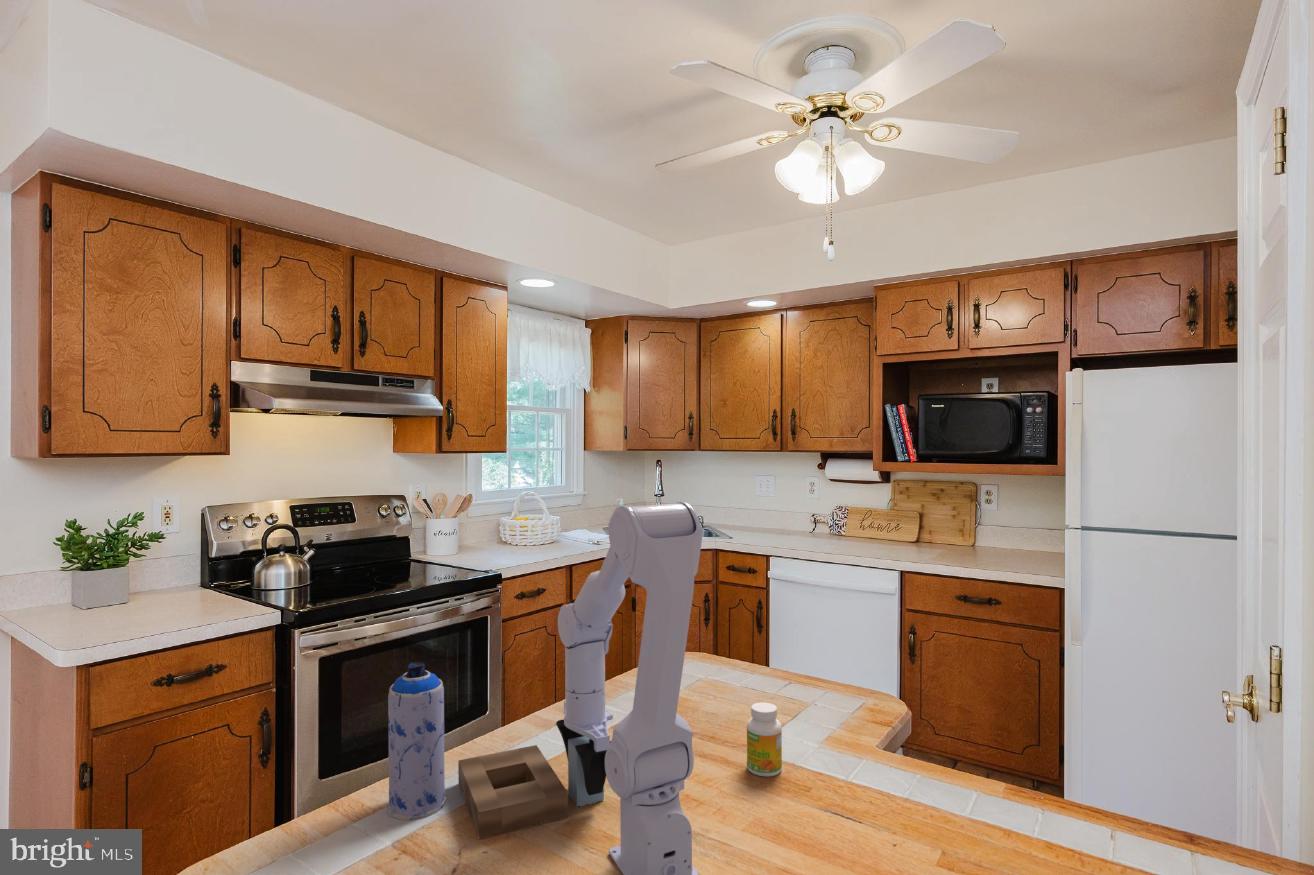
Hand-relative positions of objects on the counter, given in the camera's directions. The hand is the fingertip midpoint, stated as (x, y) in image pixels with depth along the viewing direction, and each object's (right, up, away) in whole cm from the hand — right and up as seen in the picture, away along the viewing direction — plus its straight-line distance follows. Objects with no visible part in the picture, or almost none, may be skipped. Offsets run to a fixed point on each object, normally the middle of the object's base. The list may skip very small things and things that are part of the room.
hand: (585, 780), depth 101 cm
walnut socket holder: (-11, -3, -1) cm, 11 cm away
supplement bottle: (+27, -2, +8) cm, 28 cm away
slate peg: (0, -2, 0) cm, 2 cm away
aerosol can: (-24, -3, -2) cm, 24 cm away
